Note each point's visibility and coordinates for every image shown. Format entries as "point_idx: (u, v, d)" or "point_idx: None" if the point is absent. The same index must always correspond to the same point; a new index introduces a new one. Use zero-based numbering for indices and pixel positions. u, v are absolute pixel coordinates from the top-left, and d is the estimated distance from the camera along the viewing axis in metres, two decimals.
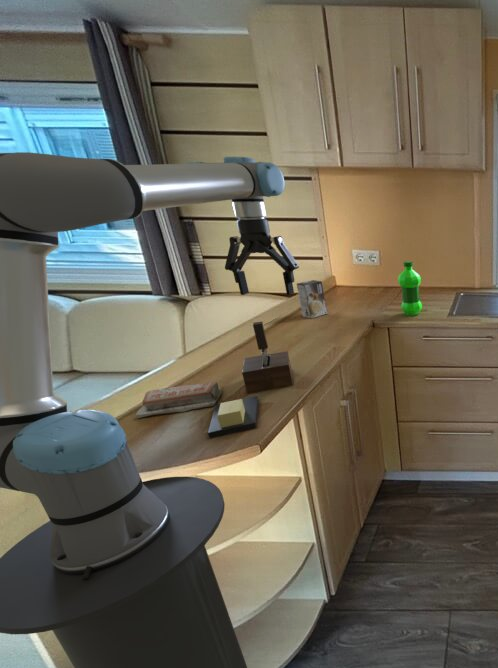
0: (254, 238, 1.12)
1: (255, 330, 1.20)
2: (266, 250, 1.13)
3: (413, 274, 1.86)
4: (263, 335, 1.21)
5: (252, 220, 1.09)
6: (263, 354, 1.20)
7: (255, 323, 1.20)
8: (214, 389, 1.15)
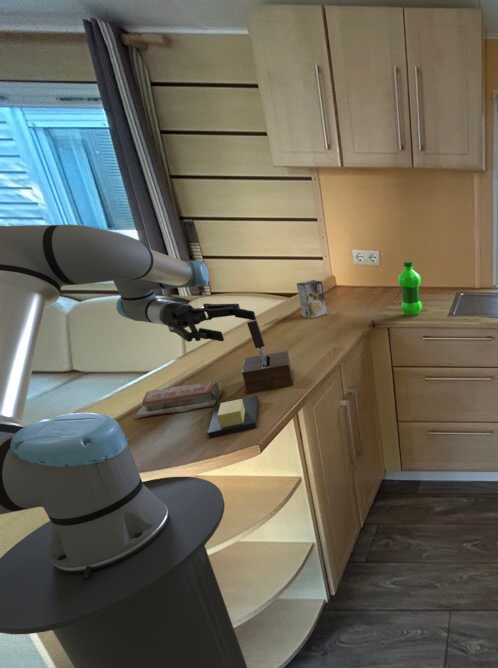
0: (187, 313, 1.18)
1: (250, 328, 1.21)
2: (205, 308, 1.20)
3: (413, 274, 1.86)
4: (258, 333, 1.22)
5: None
6: (260, 351, 1.20)
7: (249, 321, 1.21)
8: (214, 389, 1.15)
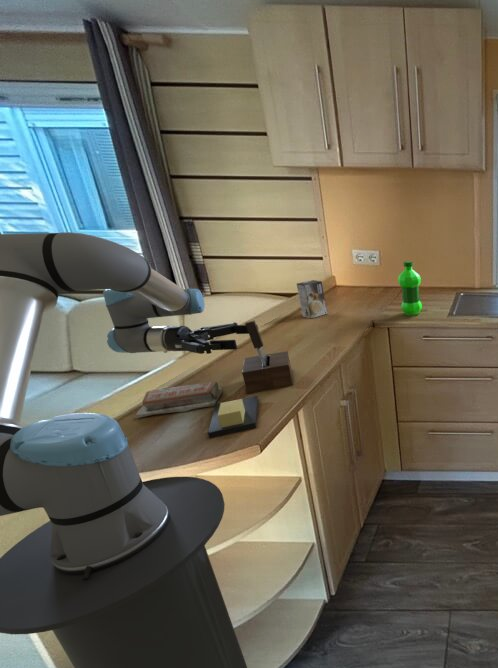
0: None
1: (248, 329, 1.20)
2: (207, 328, 1.23)
3: (413, 274, 1.86)
4: (257, 333, 1.22)
5: None
6: (259, 351, 1.20)
7: (247, 322, 1.21)
8: (214, 389, 1.15)
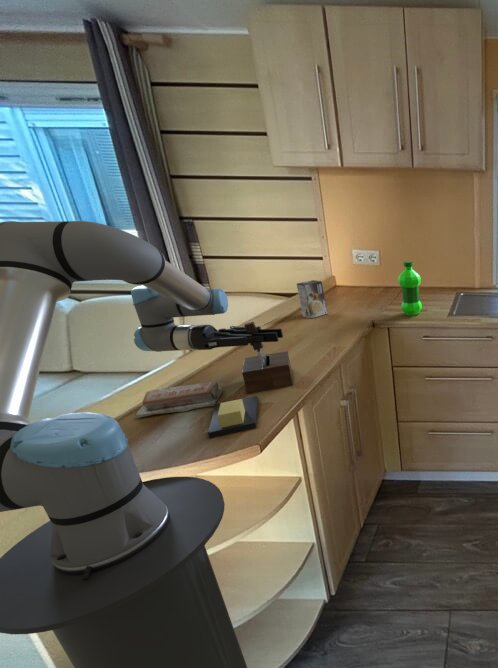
0: None
1: (247, 331, 1.19)
2: (231, 329, 1.22)
3: (413, 274, 1.86)
4: None
5: None
6: (259, 354, 1.20)
7: (246, 324, 1.20)
8: (214, 389, 1.15)
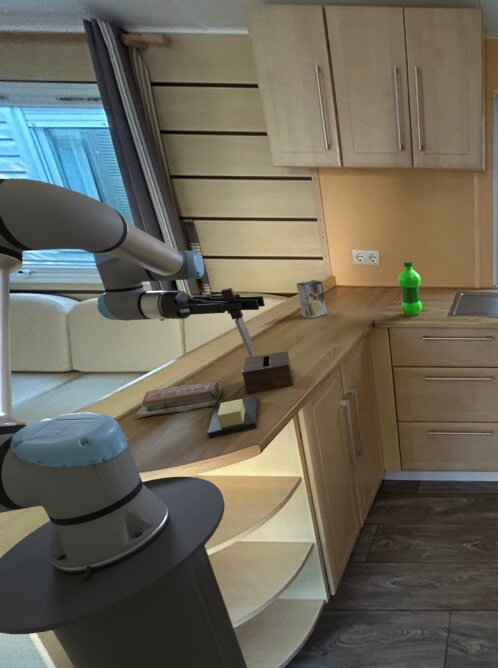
0: None
1: (224, 297, 1.08)
2: (207, 296, 1.10)
3: (413, 274, 1.86)
4: None
5: None
6: (237, 323, 1.08)
7: (223, 290, 1.08)
8: (214, 389, 1.15)
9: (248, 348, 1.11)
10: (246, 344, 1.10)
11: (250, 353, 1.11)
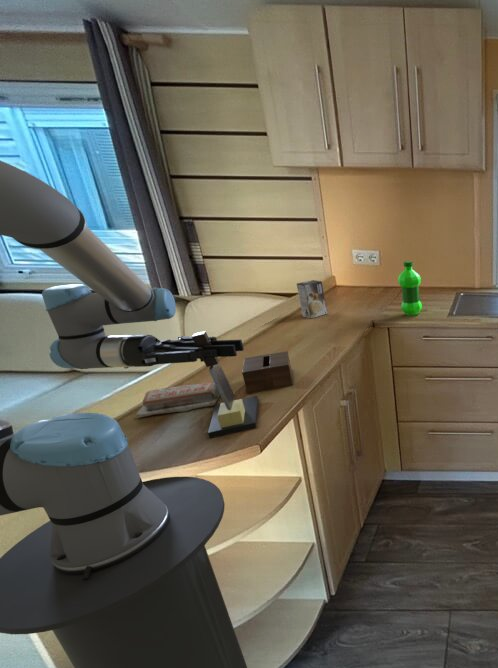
0: None
1: (196, 343, 0.94)
2: (178, 340, 0.97)
3: (413, 274, 1.86)
4: None
5: None
6: (211, 372, 0.95)
7: (195, 334, 0.95)
8: (214, 389, 1.15)
9: (225, 399, 0.98)
10: (222, 394, 0.97)
11: (227, 404, 0.99)
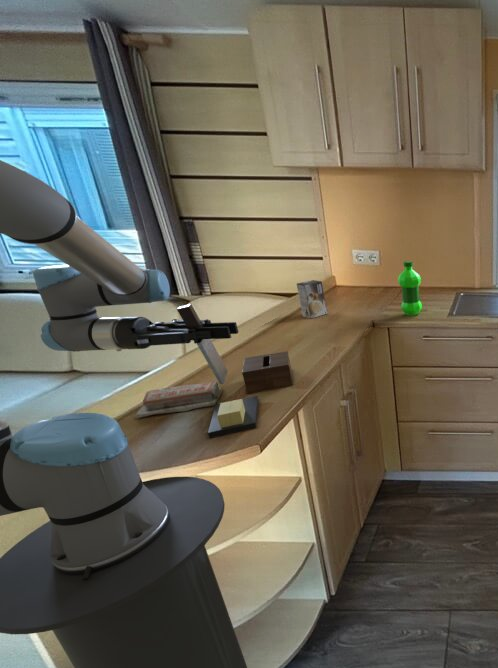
0: None
1: (182, 316, 0.92)
2: (171, 322, 0.96)
3: (413, 274, 1.86)
4: (195, 321, 0.93)
5: None
6: (200, 345, 0.93)
7: (181, 307, 0.92)
8: (214, 389, 1.15)
9: (216, 373, 0.96)
10: (213, 368, 0.95)
11: (219, 378, 0.96)
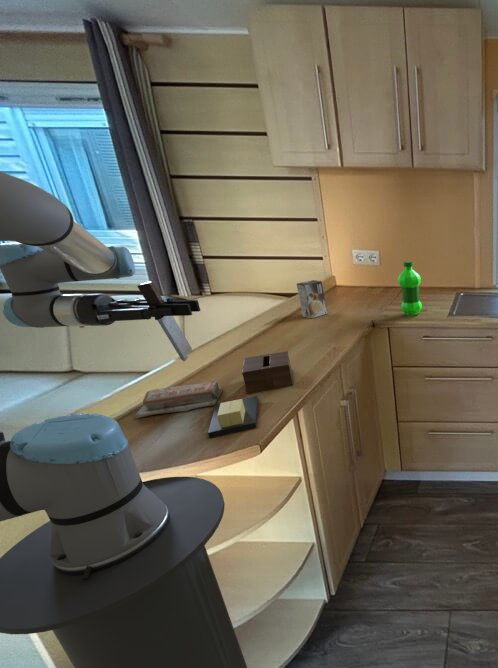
0: None
1: (143, 293, 0.94)
2: (134, 300, 0.98)
3: (413, 274, 1.86)
4: (156, 298, 0.95)
5: None
6: (160, 322, 0.94)
7: (141, 284, 0.94)
8: (214, 389, 1.15)
9: (178, 349, 0.98)
10: (174, 345, 0.97)
11: (181, 355, 0.98)
